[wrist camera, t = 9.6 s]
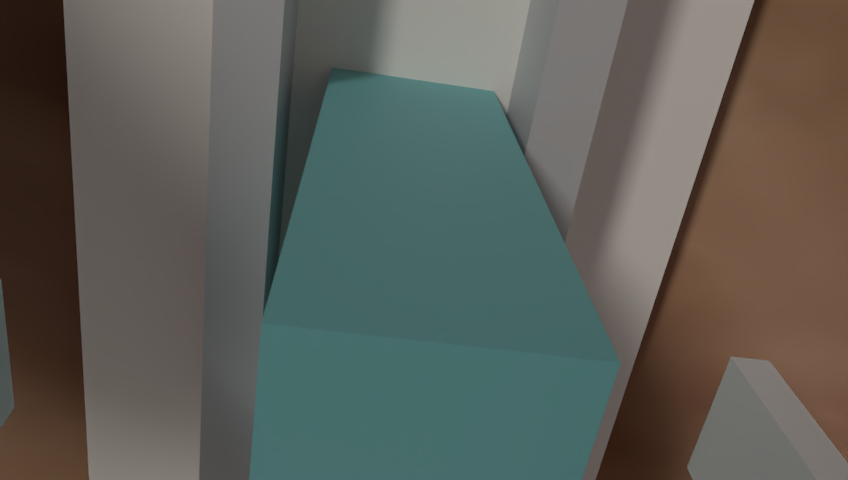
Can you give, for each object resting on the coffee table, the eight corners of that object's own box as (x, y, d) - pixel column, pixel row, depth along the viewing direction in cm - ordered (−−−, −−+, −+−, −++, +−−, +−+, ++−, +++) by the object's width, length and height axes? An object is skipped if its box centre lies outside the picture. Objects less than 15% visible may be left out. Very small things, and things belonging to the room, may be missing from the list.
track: (66, -351, 14) (-411, -671, 5) (799, -211, 15) (1279, -298, 7) (105, 535, 23) (-48, 895, 15) (550, 568, 24) (630, 913, 16)
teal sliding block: (332, 67, 16) (261, 323, 7) (493, 91, 16) (620, 363, 7) (296, 404, 20) (220, 845, 11) (427, 417, 20) (458, 854, 11)
